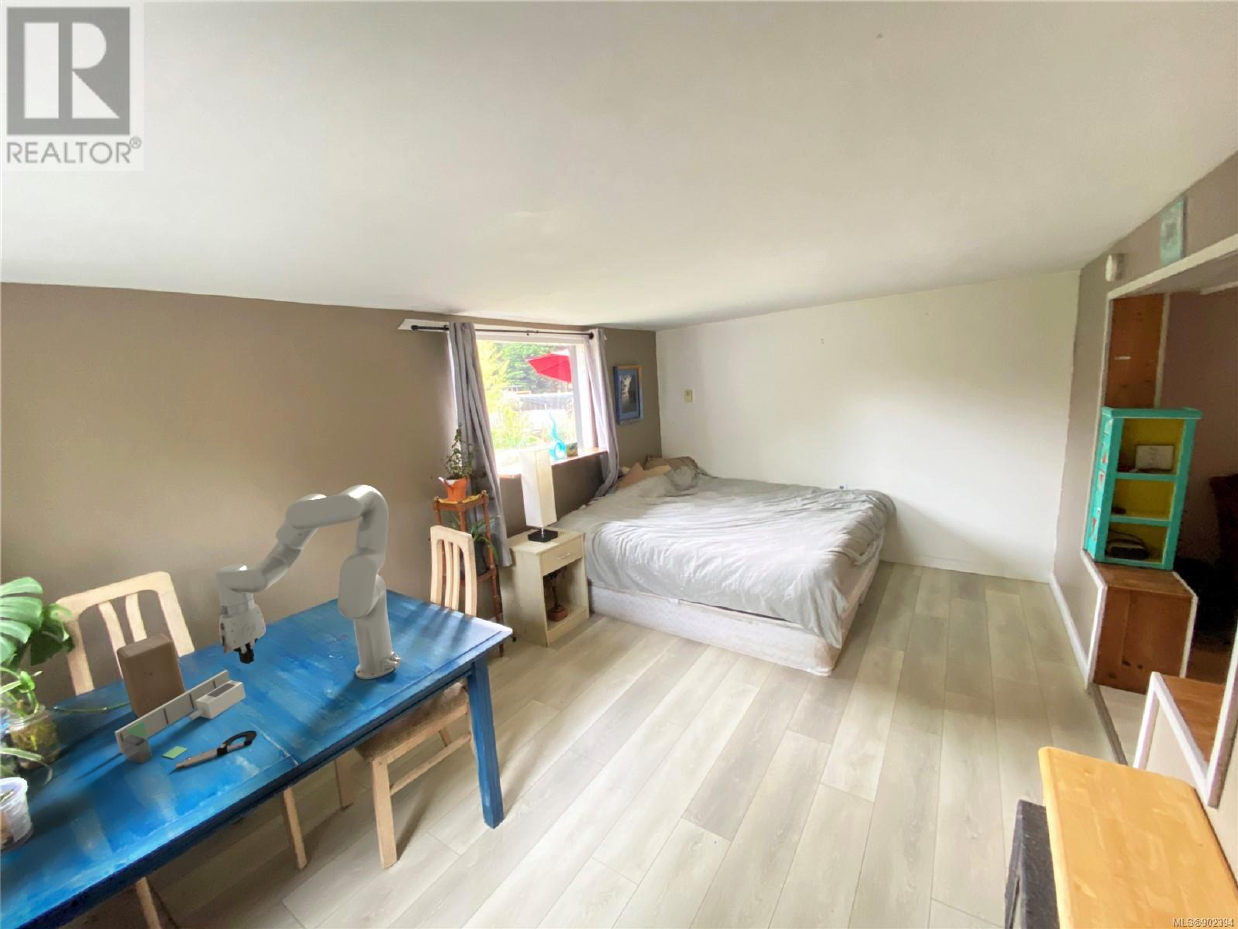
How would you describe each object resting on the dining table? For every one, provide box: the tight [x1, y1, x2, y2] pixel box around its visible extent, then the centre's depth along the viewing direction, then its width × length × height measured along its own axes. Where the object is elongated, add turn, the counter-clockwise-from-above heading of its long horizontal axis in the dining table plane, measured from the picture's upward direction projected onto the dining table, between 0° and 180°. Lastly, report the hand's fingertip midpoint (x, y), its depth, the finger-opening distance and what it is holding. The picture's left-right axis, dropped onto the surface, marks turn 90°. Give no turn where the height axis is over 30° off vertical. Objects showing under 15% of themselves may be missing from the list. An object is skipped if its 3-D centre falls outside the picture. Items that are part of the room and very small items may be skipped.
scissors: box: [175, 730, 258, 770], centre depth 115 cm, size 15×7×2 cm, turn 120°
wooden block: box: [115, 632, 186, 719], centre depth 130 cm, size 10×10×20 cm
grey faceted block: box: [122, 735, 153, 765], centre depth 112 cm, size 6×2×6 cm, turn 74°
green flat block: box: [162, 745, 188, 760], centre depth 114 cm, size 4×3×1 cm
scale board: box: [114, 669, 231, 754], centre depth 126 cm, size 1×26×6 cm, turn 164°
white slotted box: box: [188, 679, 247, 721], centre depth 129 cm, size 5×12×5 cm, turn 163°
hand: (247, 661), depth 138 cm, fingers closed
